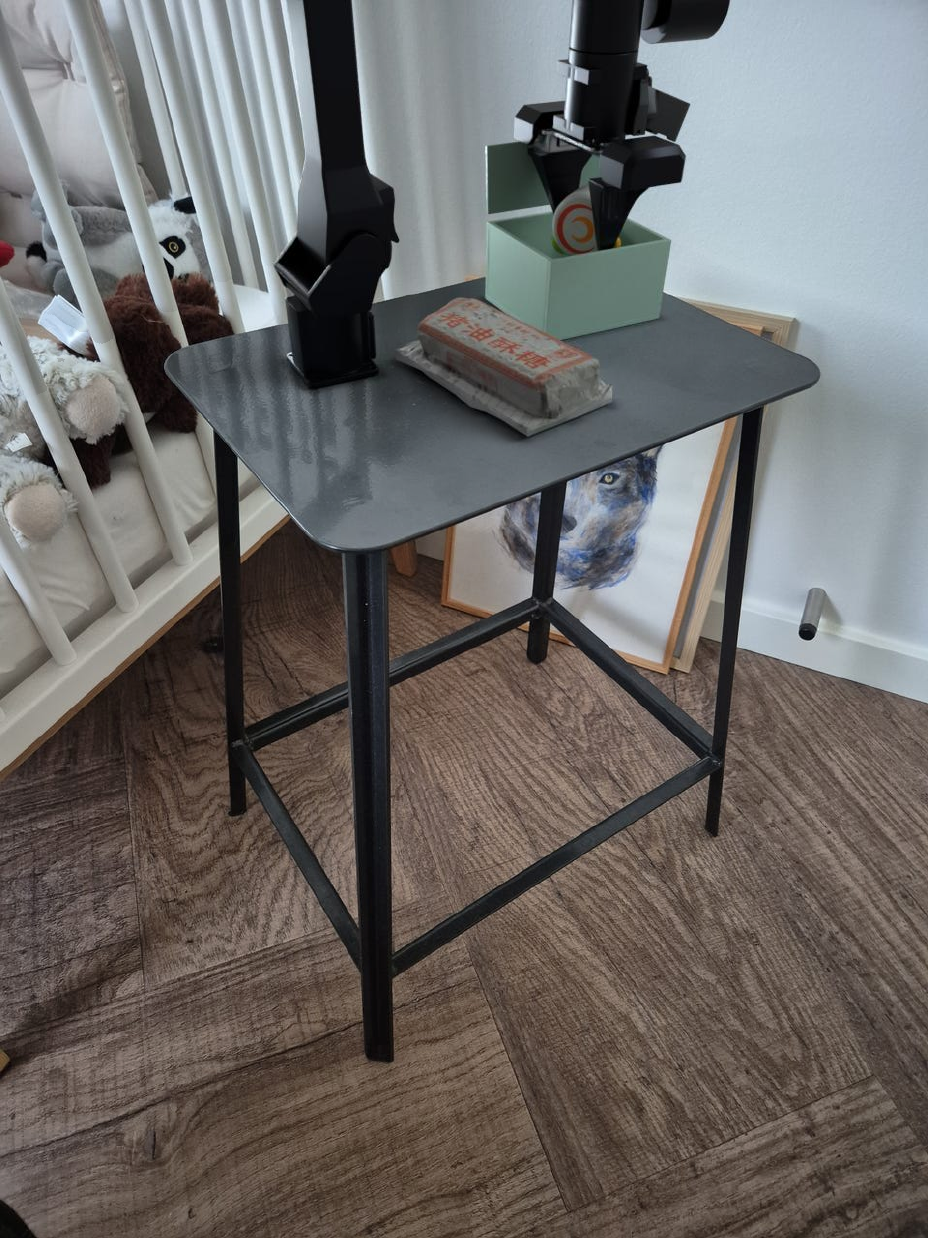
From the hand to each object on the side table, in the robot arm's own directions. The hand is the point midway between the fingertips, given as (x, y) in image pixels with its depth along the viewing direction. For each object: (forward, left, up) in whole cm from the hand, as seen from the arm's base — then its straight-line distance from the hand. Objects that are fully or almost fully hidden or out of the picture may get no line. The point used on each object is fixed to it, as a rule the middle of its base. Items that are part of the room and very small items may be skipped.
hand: (584, 243), depth 83 cm
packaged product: (-14, -10, -7) cm, 18 cm away
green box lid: (0, +8, +4) cm, 9 cm away
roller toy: (0, 0, -1) cm, 1 cm away
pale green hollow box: (0, +1, -7) cm, 7 cm away
